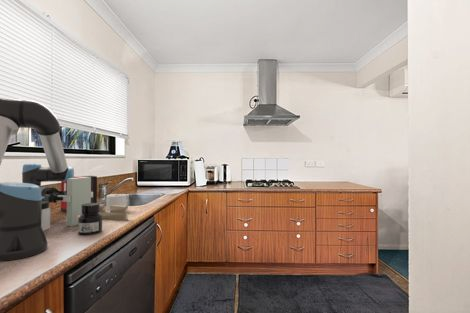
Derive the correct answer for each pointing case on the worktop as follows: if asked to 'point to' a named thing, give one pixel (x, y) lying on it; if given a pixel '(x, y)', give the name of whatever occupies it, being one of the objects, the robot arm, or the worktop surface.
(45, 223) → the jar
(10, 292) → the worktop surface
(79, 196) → the pale green panel
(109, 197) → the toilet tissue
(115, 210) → the slotted rail
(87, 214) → the ink bottle
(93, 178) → the cleaning product box
